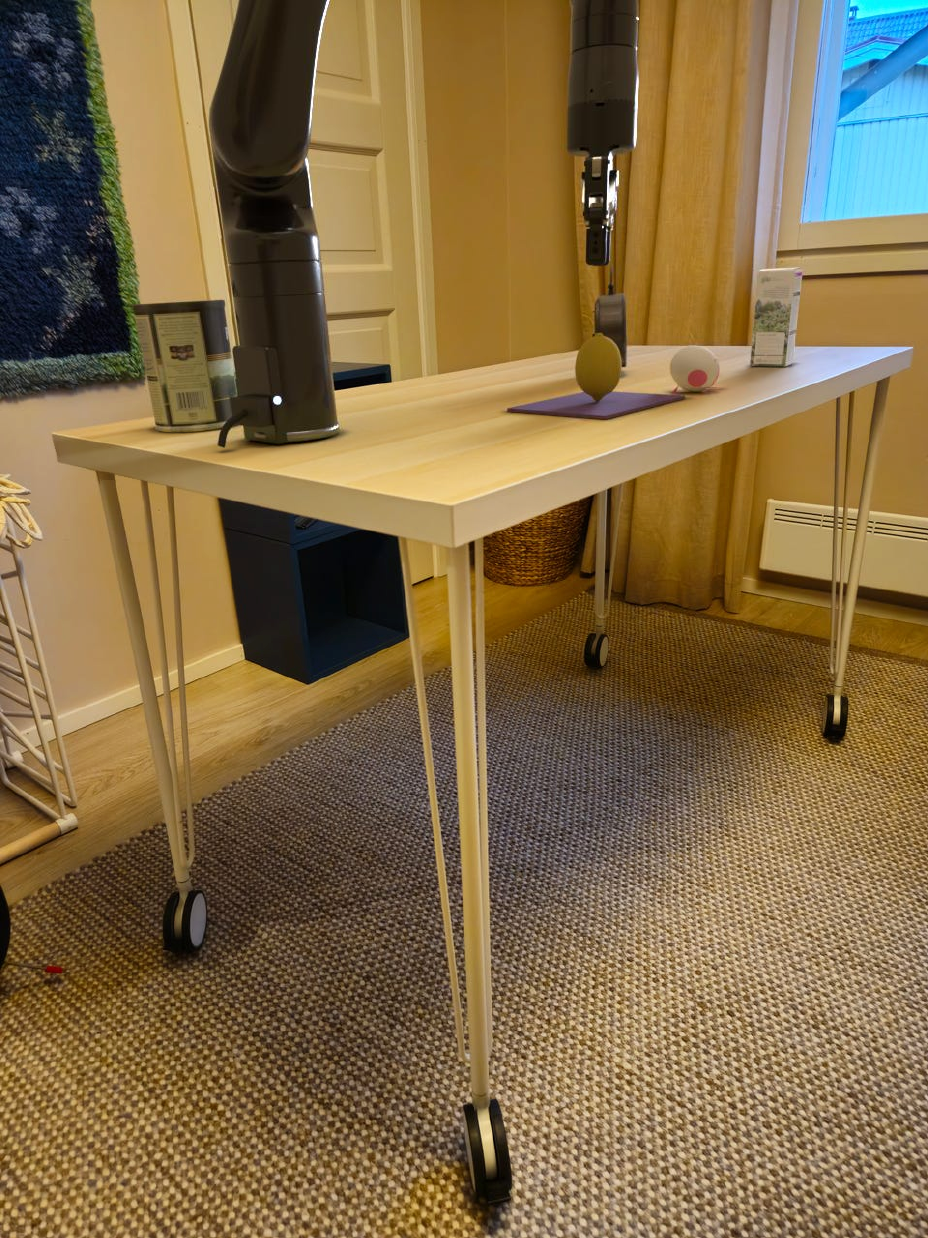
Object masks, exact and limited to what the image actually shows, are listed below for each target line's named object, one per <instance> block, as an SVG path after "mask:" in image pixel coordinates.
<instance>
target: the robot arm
mask: <svg viewBox="0 0 928 1238" xmlns="http://www.w3.org/2000/svg"><path fill="white" fill-rule="evenodd" d="M568 2H569V6H570V10H571V11H570V12H571V13H570V14H571V15H570V52H569V53H570V56H569V67H568V74H567V93H566V95H567V100H566V101H567V102H566V103H567V105H566V107H567V108H566V151H567V153H568V154H569V155H571V156H574V157H581V158H584V160H583V167H584V171H581V174H580V175H581V176H580V186H581V190H582V193H581V208H582V210H581V211H582V217H583V224H584V227H585V228H586V229H585V263H586V265H588V266H593V267H606V266H608V265H609V264H610V262H611V232H612V230H613V228H614V222H615V218H614V215H615V213H616V212H617V191H618V190H619V182H620V181H619V179H620V178H619V177H620V175H619V174H620V173H619V169H613V158H614V157H615V156H616V155H624V154H625V155H626V154H627V153H630V152H632V151H634V150H635V148H636V144H637V123H638V122H637V121H638V120H637V119H638V98H639V97H638V95H639V66H638V65H639V64H638V34H639V0H569V1H568ZM330 3H331V0H238V3H237V8H236V12H235V16H234V20H233V25H232V28H231V32H230V37H229V41H228V45H227V50H226V53H225V56H224V60H223V63H222V67H221V70H220V74H219V77H218V80H217V83H216V87H215V89H214V93H213V96H212V99H211V103H210V106H209V113H208V128H209V129H208V130H209V136H210V137H209V138H210V146H211V153H212V161H213V167H214V175H215V181H216V188H217V194H218V201H219V209H220V216H221V217H220V218H221V225H222V233H223V239H224V246H225V251H226V259H227V265H228V272H229V278H230V286H231V292H232V300H233V308H234V314H235V323H236V329H237V336H238V343H239V344H238V345H234V346H233V347H232V349H231V354H232V361H233V368H234V375H235V382H236V389H237V396H236V397H230V403H231V410H232V417H231V418H230V419H229V420H227V422H226V423H225V424H224V425H223V427H222V428H220V429H221V430H220V432H219V434H218V440H217V446H218V447H220V448H226V445H227V439H228V434H229V433H230V431H231V429H232V428H233V427H234V426H242V430H243V436H244V440H249V441H254V442H255V441H256V442H262V443H269V444H275V445H279V444H285V443H286V444H287V443H294V442H295V443H296V442H306V441H314V440H320V439H325V438H329V437H333V436H335V435H337V434H339V433H340V423H339V421H338V414H337V403H336V393H335V386H334V385H335V384H334V383H335V382H334V374H333V363H332V354H331V353H332V352H331V344H330V343H331V342H330V333H329V325H328V323H329V322H328V316H327V315H328V314H327V305H326V294H325V284H324V275H323V273H324V272H323V265H322V253H321V245H320V236H319V232H318V228H317V223H316V218H315V213H314V205H313V195H312V186H311V176H310V168H309V167H310V166H309V157H308V154H309V150H310V147H311V140H312V125H313V123H312V121H313V109H314V99H315V98H314V95H315V88H316V87H315V85H316V75H317V67H318V59H319V52H320V51H319V50H320V44H321V39H322V32H323V28H324V24H325V23H324V22H325V19H326V15H327V12H328V8H329V5H330Z"/></svg>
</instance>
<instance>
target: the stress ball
mask: <svg viewBox="0 0 928 1238" xmlns="http://www.w3.org/2000/svg"><path fill="white" fill-rule="evenodd" d="M669 363H670V364H669V373H670V376H671V379H672V380H673V382H674V383H675V384H676V385H677V386H676V388H674V389H673V390H672V393H673V394H676V393H677V391H678V390H677V389H678V388H679V387H680V388H681V389H683V390H685V391H687V392H695V393H696V392H703V391H706V390H707V389H718V388H721V386H720V387H719V386H714V387H713V385H715V383H716V382H717V380H718V378H719V375H720V363H719V360H718V358H717V357H716V355H715V354H714V353H713V352H712V351H711V350H709V349H708V348H706V347H705V346H701V345H687V346H684V347H682V348H680V349H678V351H676V352H675V353H674V355H673V356H672V358H671V360H670V362H669Z"/></svg>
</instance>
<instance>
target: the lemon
mask: <svg viewBox="0 0 928 1238" xmlns="http://www.w3.org/2000/svg"><path fill="white" fill-rule="evenodd" d="M594 334H595V333H594ZM574 366H575V367H574V372H575V379H576V383H577V385H578V388H580V390H581V392H585V393H586V394H588V395H590V396H591V397H592V398H593V399H594V400H595V401H597V402H598V401H601V400H602V399H603V397H604V396H605V395H607V394H609V393H610V392H612V391H614V390H615V389H616V387H617V386H618V385H619V382H620V380H621V377H622V369H623V367H622V362H621V356H620V352H619V349H618V347H617V345H616V344H615V343H614V342H613V341H612V340H611V339H609V338H607V337H605V336H603V334H602V333H596V334H595V336H594V337H592V336H591V337H590V338H587V340H585V341H584V342H583V343H582V345H581V346H580V348H579V349H578V352H577V355H576V359H575V365H574Z"/></svg>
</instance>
